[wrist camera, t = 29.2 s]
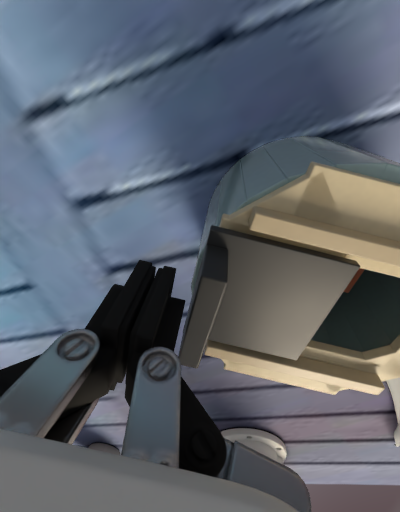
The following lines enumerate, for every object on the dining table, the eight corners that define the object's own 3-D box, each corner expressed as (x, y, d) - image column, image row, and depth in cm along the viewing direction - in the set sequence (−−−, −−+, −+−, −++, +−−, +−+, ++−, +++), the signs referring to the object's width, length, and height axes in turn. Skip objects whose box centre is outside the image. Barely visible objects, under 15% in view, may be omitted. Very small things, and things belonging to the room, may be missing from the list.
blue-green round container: (421, 163, 19) (583, 213, 10) (327, 305, 26) (374, 402, 18) (231, 114, 18) (232, 123, 10) (192, 272, 26) (173, 355, 17)
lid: (555, 223, 10) (600, 240, 9) (371, 396, 17) (382, 419, 16) (242, 143, 10) (244, 149, 9) (183, 352, 17) (179, 372, 16)
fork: (393, 337, 30) (407, 355, 28) (412, 443, 37) (424, 465, 35) (367, 341, 31) (378, 359, 28) (390, 444, 38) (400, 466, 35)
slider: (356, 260, 11) (392, 304, 9) (294, 353, 15) (308, 404, 12) (211, 224, 11) (205, 259, 8) (183, 327, 14) (174, 373, 12)
